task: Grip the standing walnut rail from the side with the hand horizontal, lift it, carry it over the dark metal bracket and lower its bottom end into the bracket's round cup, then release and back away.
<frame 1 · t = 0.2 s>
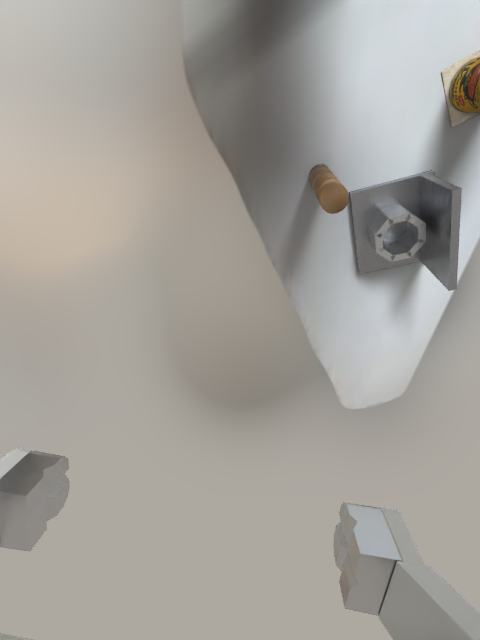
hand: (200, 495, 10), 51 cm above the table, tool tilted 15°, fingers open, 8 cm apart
rail: (319, 175, 52), on the table
condiment: (479, 82, 44), on the table
cup bracket: (388, 226, 55), on the table
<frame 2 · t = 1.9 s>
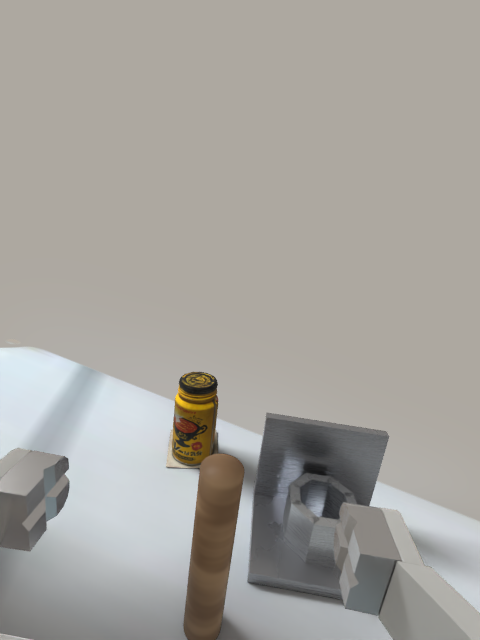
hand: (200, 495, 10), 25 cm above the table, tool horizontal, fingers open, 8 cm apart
rail: (202, 623, 28), on the table
condiment: (193, 449, 50), on the table
cup bracket: (312, 542, 37), on the table
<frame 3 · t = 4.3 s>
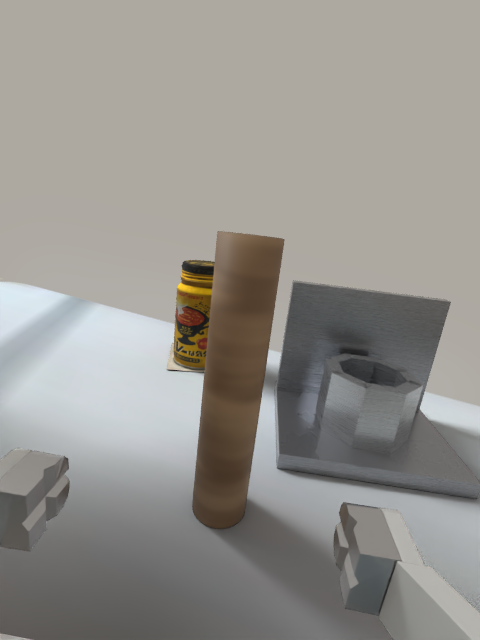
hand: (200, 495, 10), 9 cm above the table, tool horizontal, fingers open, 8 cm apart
rail: (218, 505, 20), on the table
condiment: (198, 359, 42), on the table
cup bracket: (355, 436, 29), on the table
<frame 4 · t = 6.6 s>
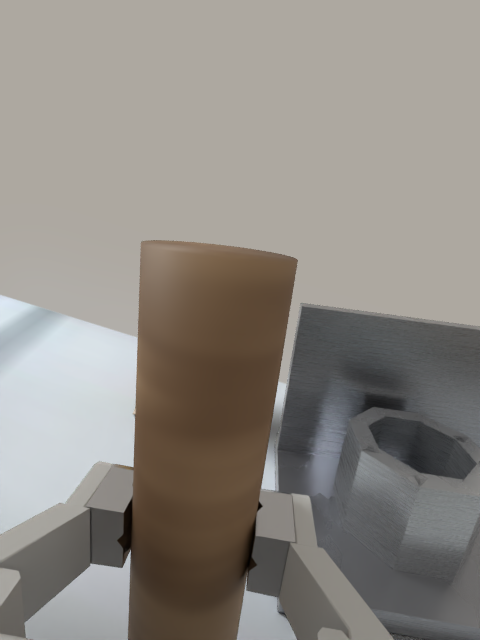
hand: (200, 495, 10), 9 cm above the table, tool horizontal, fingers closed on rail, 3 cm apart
cup bracket: (392, 531, 20), on the table
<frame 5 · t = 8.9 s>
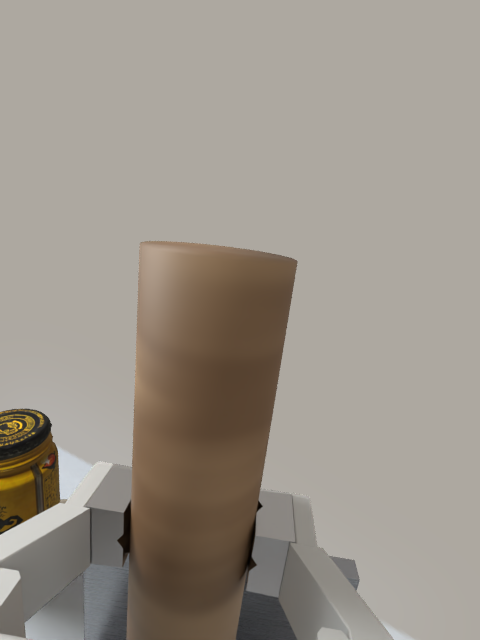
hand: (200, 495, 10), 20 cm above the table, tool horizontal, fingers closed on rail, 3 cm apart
condiment: (27, 542, 28), on the table
when the fingers open (11 cm above the table, at t = 11.3 s): rail drops 1 cm, resting on cup bracket.
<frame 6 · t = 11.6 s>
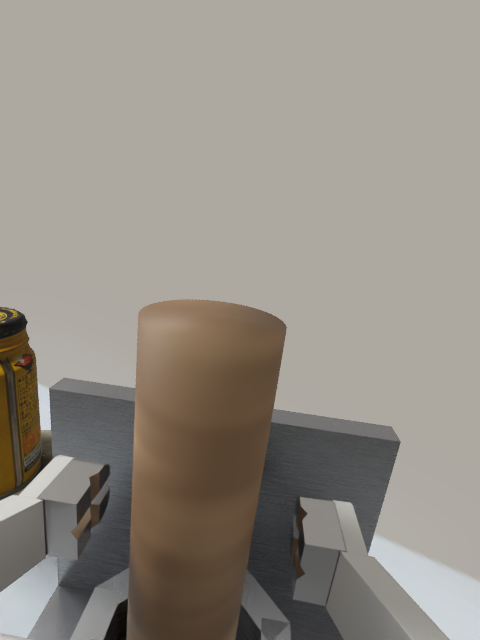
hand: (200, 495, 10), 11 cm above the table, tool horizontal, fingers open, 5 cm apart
condiment: (3, 468, 25), on the table
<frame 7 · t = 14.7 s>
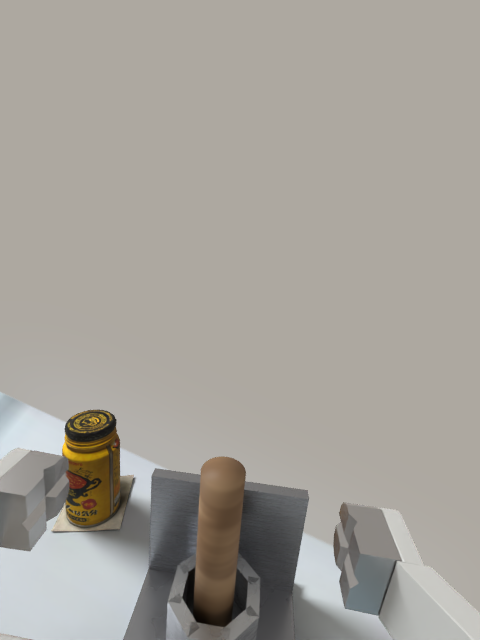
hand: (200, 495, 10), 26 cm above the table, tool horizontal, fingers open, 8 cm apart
rail: (211, 634, 28), point 1 cm above the table, touching cup bracket
condiment: (97, 503, 41), on the table
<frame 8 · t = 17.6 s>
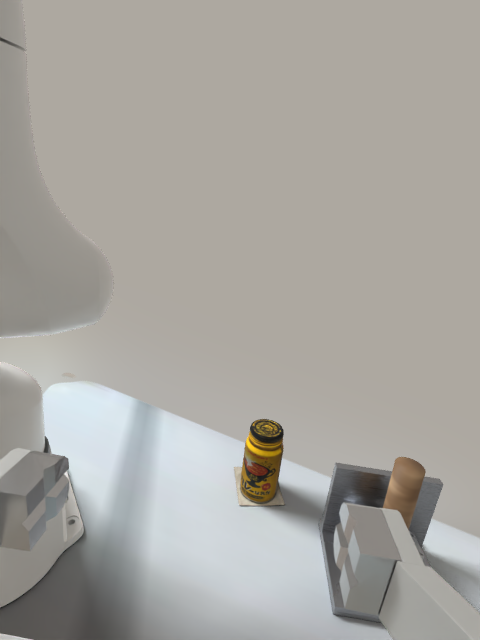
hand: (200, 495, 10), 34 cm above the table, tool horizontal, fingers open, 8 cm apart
rail: (381, 569, 43), point 1 cm above the table, touching cup bracket
condiment: (257, 486, 56), on the table
cup bracket: (379, 576, 43), on the table
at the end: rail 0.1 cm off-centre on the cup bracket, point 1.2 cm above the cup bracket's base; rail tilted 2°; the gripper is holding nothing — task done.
